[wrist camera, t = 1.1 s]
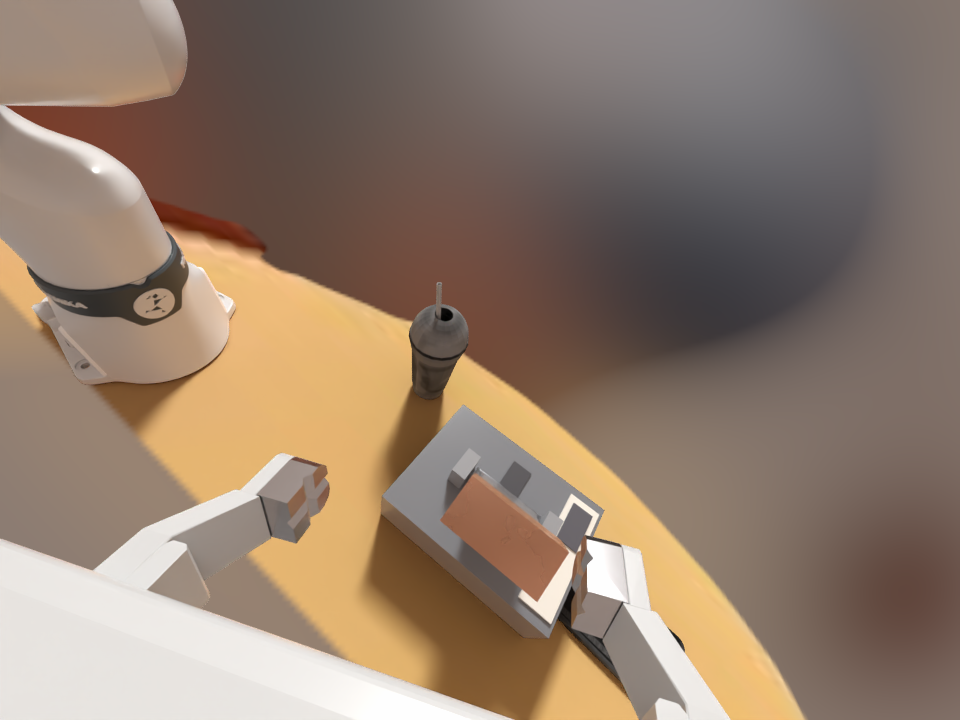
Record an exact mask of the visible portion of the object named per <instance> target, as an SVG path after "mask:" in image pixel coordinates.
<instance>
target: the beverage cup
mask: <svg viewBox="0 0 960 720" xmlns="http://www.w3.org/2000/svg"><path fill="white" fill-rule="evenodd" d="M441 288H442V284H441V283H440V282H438V283H437V296H436V305H432V306H429V307H427V308H425V309H424V310H422V311H421V312H420V313H419V314H418V315H417V316H416V318H415V320H414V321H413V323H412V326H411V327H410V331H409V338H410V343H411V347H412V382H413V390H414V392H415V393H416V394H417V395H418V396H419V397H421V398H423V399H435V398H437V397H439V396H440V395H441V394H442V392H443V390H444V388H445V386H446V384H447V382H448V380H449V378H450V375H451V373H452V371H453V369H454V367H455V365H456V363H457V360H458V359H459V358H460V357H461V355H462V354H463V353H464V352H465V350H466V348H467V346H468V327H467V324H466V321H465V319H464V317H463V316H462V315H461V314H460V312H459V311H457V310H456V309H455V308H453V307H451V306H448V305H443V304H441V290H442V289H441Z"/></svg>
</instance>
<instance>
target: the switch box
mask: <svg viewBox="0 0 960 720" xmlns="http://www.w3.org/2000/svg"><path fill="white" fill-rule="evenodd" d="M478 467H479V468H480V469H481V470H483V471H484V472H485V473H486V474H488V475H489V476H490V477H491V478H493V479H494V480H495V481H497V482H498V483H499V484H500V485H502V486H503V487H504V488H505V489H507V490H508V491H509V492H511V493H512V494H513V495H514V496H516V497H517V498H518V499H520V500H521V501H522V502H523V503H525V504H526V505H527V506H528V507H530V508H531V509H532V510H534V511H535V512H536V513H537V514H539V515H540V516H541V519H540V522H539V523H540V524H541V525H542V526H544V527H545V528H546V529H548V530H549V531H550V532H551V533H553V534H554V535H555V536H556V537H558V538H559V539H560V540H561V541H562V542H563V544H564V545H565V547H566V548H567V550H568V551H569V554H568V555H567V557H566V558H565V560H564V561H563V563H562V565H561V566H560V568H559V569H558V571H557V572H556V574H555V575H554V577H553V578H552V580H551V582H550V583H549V585H548V586H547V588H546V589H545V591H544V592H543V594H542V596H541V597H540V599H539V600H538V602H536V601H535V600H534V599H533V598H531V597H530V596H529V595H528V594H527V593H526V592H524V591H523V590H522V589H521V588H520V587H518V586H517V585H516V584H515V583H514V582H512V581H511V580H510V579H509V578H508V577H506V576H505V575H504V574H503V573H502V572H500V571H499V570H498V569H497V568H496V567H495V566H493V565H492V564H491V563H490V562H489V561H487V560H486V559H485V558H484V557H483V556H481V555H480V554H479V553H478V552H477V551H475V550H474V549H473V548H472V547H471V546H469V545H468V544H467V543H466V542H465V541H464V540H462V539H461V538H460V537H459V536H458V535H456V534H455V533H454V532H453V531H452V530H450V529H449V528H448V527H447V526H446V525H444V524H443V523H442V522H441V521H440V519H441V518H442V517H443V515H444V514H445V512H446V511H447V510H448V508H449V507H450V506H451V504H452V503H453V501H454V500H455V499H456V497H457V496H458V494H459V493H460V492H461V490H462V489H463V487H464V486H465V485H466V483H467V482H468V480H469V479H470V477H471V476H472V474H473V473H474V472H475V470H476V469H477V468H478ZM603 512H604V510H603V509H602V508H601V507H599V506H598V505H597V504H595V503H594V502H593V501H591V500H590V499H589V498H587V497H586V496H585V495H583V494H582V493H581V492H579V491H578V490H577V489H575V488H574V487H573V486H571V485H570V484H569V483H567V482H566V481H565V480H563V479H562V478H561V477H559V476H558V475H557V474H555V473H554V472H553V471H551V470H550V469H549V468H547V467H546V466H545V465H543V464H542V463H541V462H539V461H538V460H537V459H535V458H534V457H533V456H531V455H530V454H529V453H527V452H526V451H525V450H523V449H522V448H521V447H519V446H518V445H517V444H515V443H514V442H513V441H511V440H510V439H509V438H507V437H506V436H505V435H503V434H502V433H501V432H499V431H498V430H497V429H495V428H494V427H493V426H491V425H490V424H489V423H487V422H486V421H485V420H483V419H482V418H481V417H479V416H478V415H477V414H475V413H474V412H473V411H471V410H470V409H469V408H467V407H466V406H465V405H463V406H462V407H461V408H460V409H459V410H458V411H457V412H456V413H455V415H454V416H453V417H452V418H451V419H450V420H449V421H448V422H447V424H446V425H445V426H444V427H443V428H442V429H441V430H440V431H439V432H438V434H437V435H436V436H435V437H434V438H433V439H432V440H431V441H430V443H429V444H428V445H427V446H426V447H425V448H424V449H423V450H422V452H421V453H420V454H419V455H418V456H417V457H416V458H415V459H414V460H413V462H412V463H411V464H410V465H409V466H408V467H407V468H406V469H405V471H404V472H403V473H402V474H401V475H400V476H399V477H398V478H397V480H396V481H395V482H394V483H393V484H392V485H391V486H390V487H389V488H388V490H387V491H386V492H385V493H384V494H383V495H382V501H381V514H382V515H383V516H384V517H385V518H386V519H387V520H388V521H390V522H391V523H392V524H393V525H394V526H395V527H397V528H398V529H399V530H400V531H401V532H402V533H403V534H405V535H406V536H407V537H408V538H409V539H410V540H412V541H413V542H414V543H415V544H416V545H417V546H418V547H420V548H421V549H422V550H423V551H424V552H425V553H426V554H428V555H429V556H430V557H431V558H432V559H433V560H435V561H436V562H437V563H438V564H439V565H440V566H441V567H443V568H444V569H445V570H446V571H447V572H448V573H450V574H451V575H452V576H453V577H454V578H455V579H456V580H458V581H459V582H460V583H461V584H462V585H463V586H465V587H466V588H467V589H468V590H469V591H470V592H471V593H473V594H474V595H475V596H476V597H477V598H478V599H479V600H481V601H482V602H483V603H484V604H485V605H486V606H488V607H489V608H490V609H491V610H492V611H493V612H494V613H496V614H497V615H498V616H499V617H500V618H501V619H503V620H504V621H505V622H506V623H507V624H508V625H509V626H511V627H512V628H513V629H514V630H515V631H516V632H517V633H519V634H520V635H521V636H522V637H523V638H545V639H549V637H550V634H551V632H552V630H553V627H554V625H555V623H556V621H557V618H558V616H559V614H560V611H561V609H562V607H563V604H564V602H565V600H566V597H567V595H568V593H569V591H570V588H571V586H572V571H573V565H574V560H575V557H576V554H577V552H578V551H581V541H582V538H583V537H584V536H585V535H587V536H591V537H593V535H594V533H595V531H596V528H597V526H598V524H599V521H600V519H601V517H602V515H603Z"/></svg>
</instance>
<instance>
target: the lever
mask: <svg viewBox="0 0 960 720" xmlns="http://www.w3.org/2000/svg"><path fill="white" fill-rule="evenodd" d="M540 519H541V516H540V515H539V514H537V513H536V512H535V511H534V510H532V509H531V508H530V507H528V506H527V505H526V504H525V503H523V502H522V501H521V500H520V499H518V498H517V497H516V496H514V495H513V494H512V493H511V492H509V491H508V490H507V489H505V488H504V487H503V486H502V485H500V484H499V483H498V482H497V481H495V480H494V479H493V478H491V477H490V476H489V475H488V474H486V473H485V472H484V471H483V470H481V469H480V468H479V467H478V468H477V469H476V470H475V472H474V473H473V474H472V476H471V477H470V479H469V480H468V482H467V483H466V485H465V486H464V487H463V489H462V490H461V492H460V493H459V494H458V496H457V497H456V499H455V500H454V501H453V503H452V504H451V506H450V507H449V508H448V510H447V511H446V512H445V514H444V515H443V517H442V518H441V519H440V521H441V522H442V523H443V524H444V525H446V526H447V527H448V528H449V529H450V530H452V531H453V532H454V533H455V534H456V535H458V536H459V537H460V538H461V539H462V540H464V541H465V542H466V543H467V544H468V545H469V546H471V547H472V548H473V549H474V550H475V551H477V552H478V553H479V554H480V555H481V556H483V557H484V558H485V559H486V560H487V561H489V562H490V563H491V564H492V565H493V566H495V567H496V568H497V569H498V570H499V571H500V572H502V573H503V574H504V575H505V576H506V577H508V578H509V579H510V580H511V581H512V582H514V583H515V584H516V585H517V586H518V587H520V588H521V589H522V590H523V591H524V592H526V593H527V594H528V595H529V596H530V597H531V598H533V599H534V600H535V601H536V602H538V600H539V599H540V597H541V596H542V594H543V592H544V591H545V589H546V588H547V586H548V585H549V583H550V582H551V580H552V578H553V577H554V575H555V574H556V572H557V571H558V569H559V568H560V566H561V565H562V563H563V561H564V560H565V558H566V557H567V555H568V554H569V551H568V550H567V548H566V547H565V545H564V544H563V542H562V541H561V540H560V539H559V538H558V537H556V536H555V535H554V534H553V533H551V532H550V531H549V530H548V529H546V528H545V527H544V526H542V525H541V524H540V523H539V522H540Z"/></svg>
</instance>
